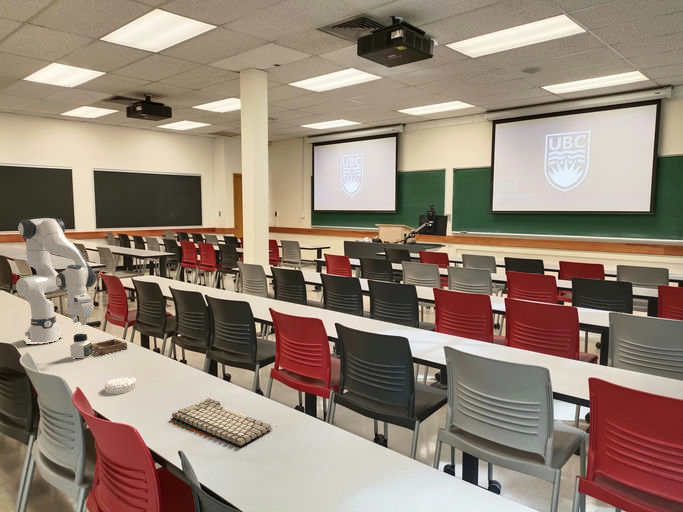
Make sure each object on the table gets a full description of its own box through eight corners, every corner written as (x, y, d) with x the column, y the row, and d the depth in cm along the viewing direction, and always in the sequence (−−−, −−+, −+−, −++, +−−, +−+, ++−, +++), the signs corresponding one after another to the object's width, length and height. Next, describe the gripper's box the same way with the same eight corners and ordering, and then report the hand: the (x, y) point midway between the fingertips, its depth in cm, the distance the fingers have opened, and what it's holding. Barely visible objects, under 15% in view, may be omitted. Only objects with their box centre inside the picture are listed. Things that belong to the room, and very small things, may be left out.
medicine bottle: (84, 359, 239) (83, 336, 237) (70, 359, 239) (69, 336, 237) (92, 354, 246) (90, 332, 244) (78, 354, 246) (77, 332, 245)
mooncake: (102, 388, 200) (101, 380, 200) (131, 381, 208) (131, 373, 207) (109, 397, 191) (109, 388, 191) (140, 389, 199) (139, 381, 198)
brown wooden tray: (91, 350, 252) (90, 344, 252) (115, 345, 262) (114, 338, 262) (102, 355, 244) (102, 348, 244) (127, 349, 254) (126, 342, 254)
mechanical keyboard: (279, 428, 163) (279, 419, 163) (238, 453, 148) (238, 442, 147) (207, 403, 184) (207, 395, 184) (165, 423, 169) (164, 414, 169)
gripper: (62, 296, 243) (64, 322, 244) (79, 300, 230) (82, 327, 231) (75, 294, 248) (77, 319, 249) (93, 298, 235) (95, 325, 236)
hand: (79, 323), depth 240 cm, fingers open, 8 cm apart
